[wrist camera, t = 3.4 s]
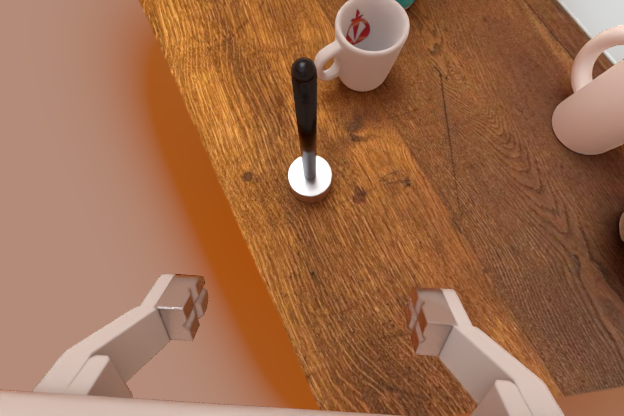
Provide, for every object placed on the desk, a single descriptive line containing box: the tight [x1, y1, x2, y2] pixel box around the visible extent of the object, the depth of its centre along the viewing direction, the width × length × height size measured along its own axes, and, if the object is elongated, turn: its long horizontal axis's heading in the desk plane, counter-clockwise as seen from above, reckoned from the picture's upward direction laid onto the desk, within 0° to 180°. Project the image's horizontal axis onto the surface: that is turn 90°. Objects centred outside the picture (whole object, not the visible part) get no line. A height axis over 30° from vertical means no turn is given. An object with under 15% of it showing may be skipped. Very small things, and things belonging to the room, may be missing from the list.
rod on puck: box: [288, 57, 332, 203], centre depth 25 cm, size 5×5×20 cm
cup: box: [314, 0, 410, 92], centre depth 34 cm, size 11×8×8 cm
